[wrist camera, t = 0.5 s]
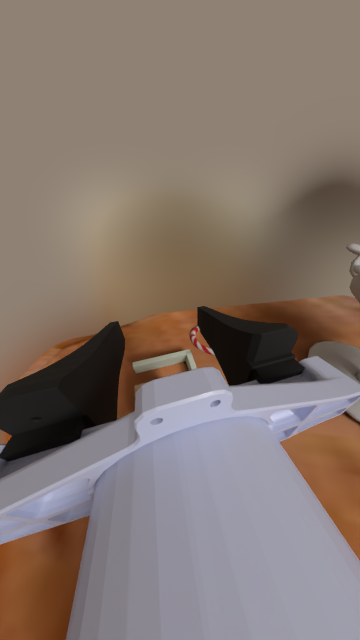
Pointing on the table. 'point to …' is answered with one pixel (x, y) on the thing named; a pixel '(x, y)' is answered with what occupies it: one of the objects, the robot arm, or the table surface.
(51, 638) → the table surface
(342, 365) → the candelabra
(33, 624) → the table surface
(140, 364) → the sage corner frame
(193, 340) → the candy cane
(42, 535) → the table surface
